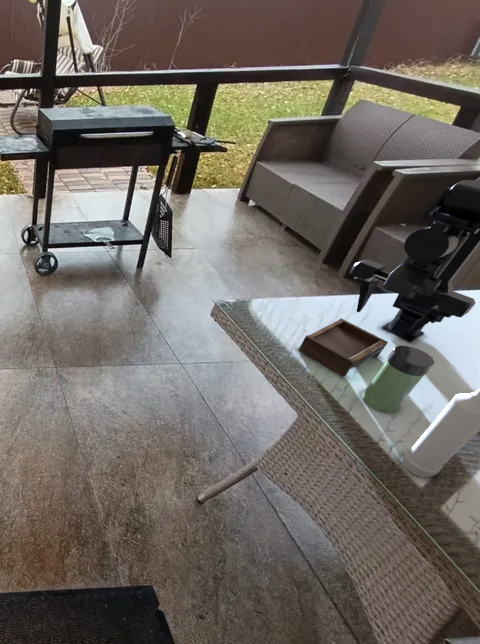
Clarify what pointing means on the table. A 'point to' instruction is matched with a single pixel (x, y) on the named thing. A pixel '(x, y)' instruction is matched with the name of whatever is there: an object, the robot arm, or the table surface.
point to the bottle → (445, 435)
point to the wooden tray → (341, 346)
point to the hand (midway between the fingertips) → (382, 322)
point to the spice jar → (397, 378)
